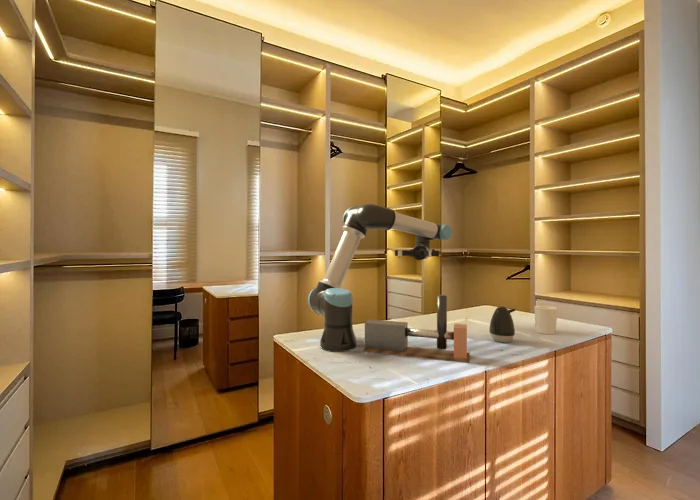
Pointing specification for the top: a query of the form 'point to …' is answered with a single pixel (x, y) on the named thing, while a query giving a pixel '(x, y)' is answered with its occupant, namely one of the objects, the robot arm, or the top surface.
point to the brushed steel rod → (441, 331)
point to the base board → (424, 353)
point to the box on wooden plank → (386, 335)
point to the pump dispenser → (502, 325)
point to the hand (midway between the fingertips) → (413, 253)
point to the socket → (460, 340)
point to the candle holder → (545, 319)
